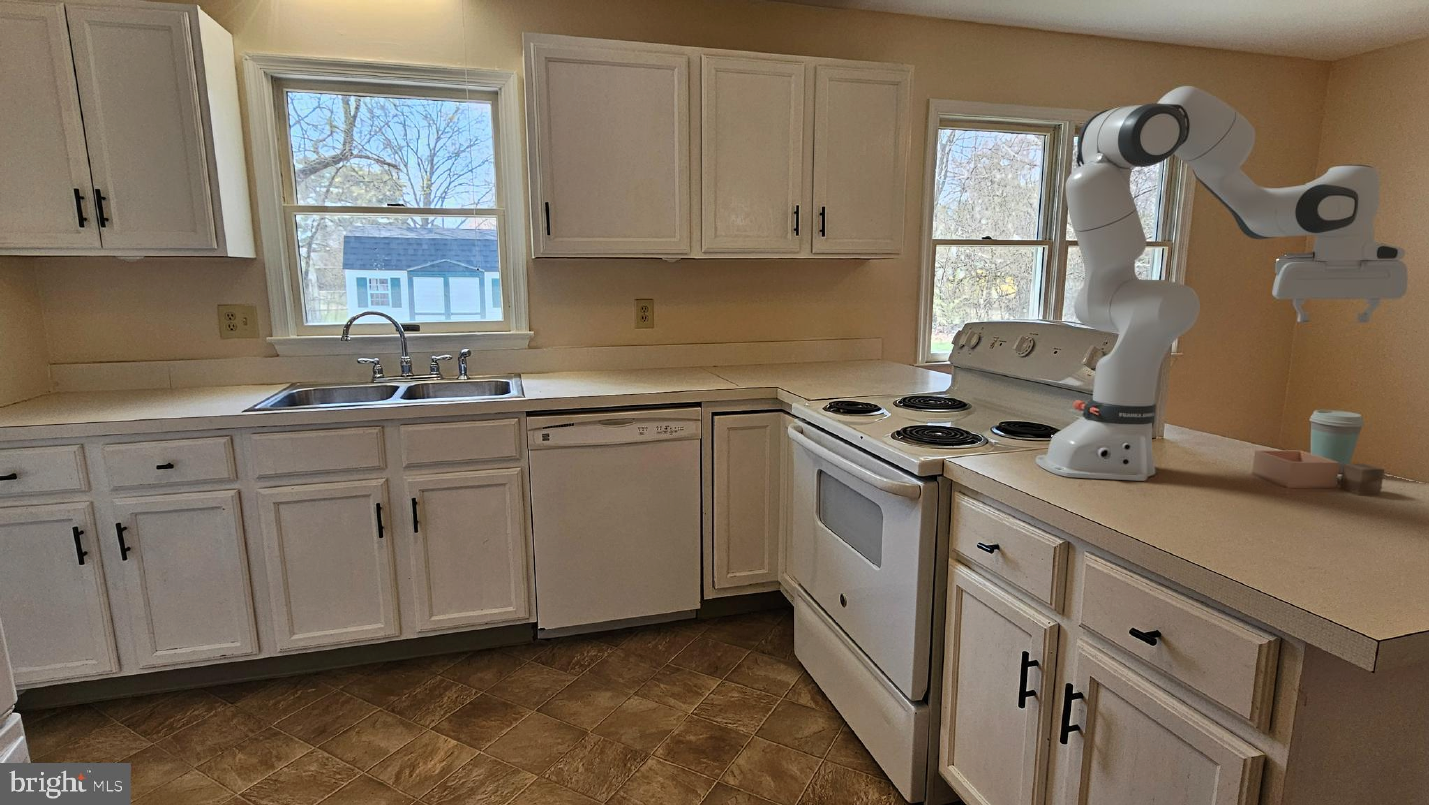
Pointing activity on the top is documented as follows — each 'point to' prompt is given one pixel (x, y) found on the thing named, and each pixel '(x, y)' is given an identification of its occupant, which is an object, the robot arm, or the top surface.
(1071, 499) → the top surface
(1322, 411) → the coffee cup
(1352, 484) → the walnut block
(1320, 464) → the pink open square tray
